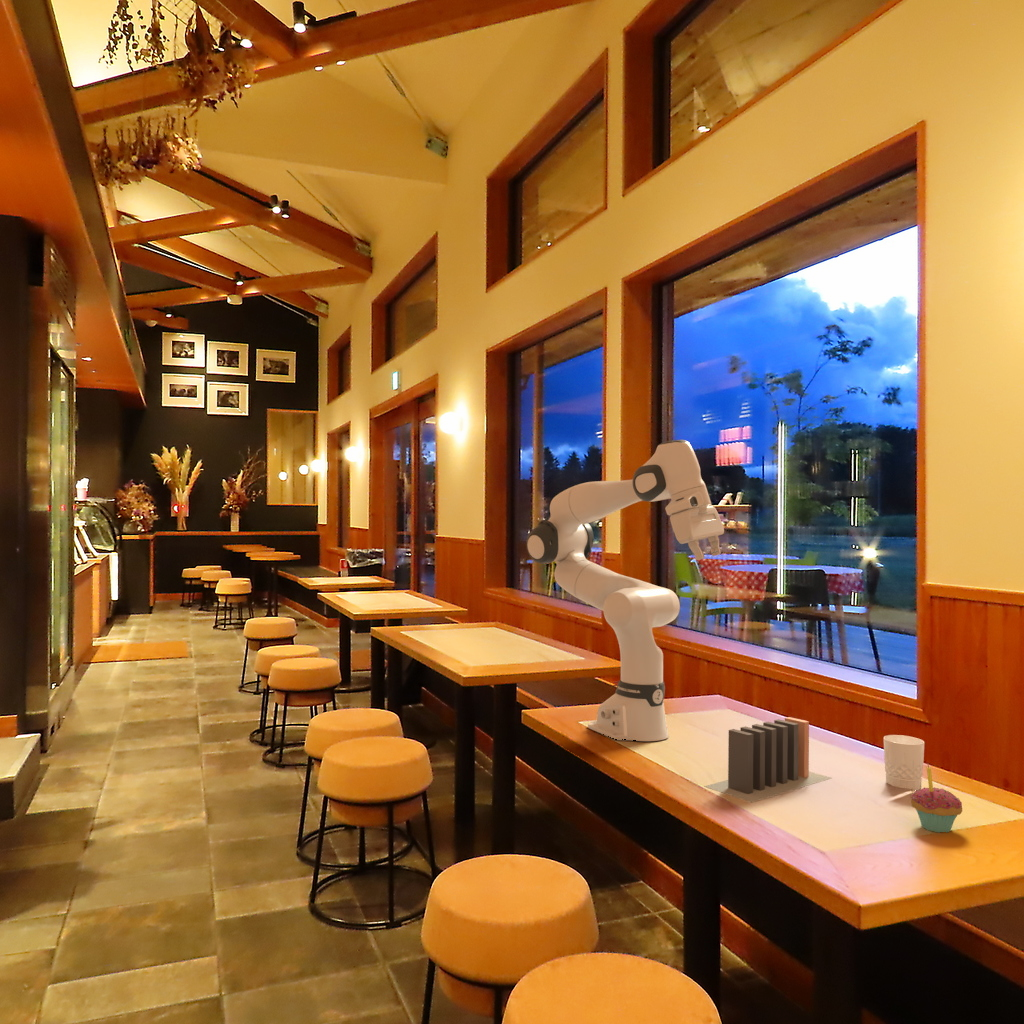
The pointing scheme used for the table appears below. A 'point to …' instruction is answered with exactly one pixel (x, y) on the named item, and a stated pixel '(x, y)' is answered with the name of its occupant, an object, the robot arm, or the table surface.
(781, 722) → the domino
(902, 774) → the white cup
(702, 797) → the table surface
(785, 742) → the domino
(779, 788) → the felt strip
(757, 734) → the domino
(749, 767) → the domino
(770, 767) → the domino
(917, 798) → the cupcake
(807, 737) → the domino
